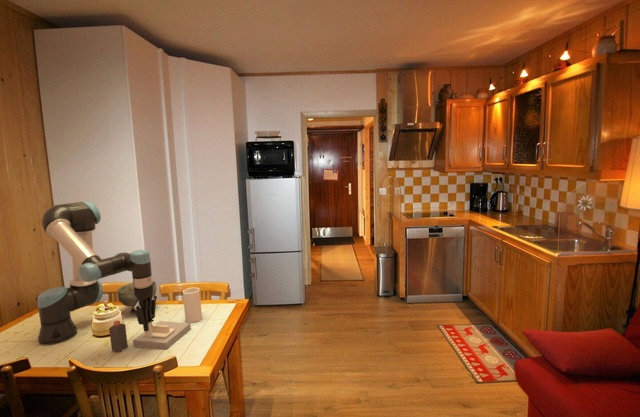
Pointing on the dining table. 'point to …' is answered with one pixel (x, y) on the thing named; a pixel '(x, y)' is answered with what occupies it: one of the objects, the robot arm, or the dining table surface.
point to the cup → (192, 305)
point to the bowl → (130, 295)
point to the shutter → (161, 331)
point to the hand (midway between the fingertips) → (148, 336)
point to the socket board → (163, 342)
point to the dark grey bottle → (118, 337)
